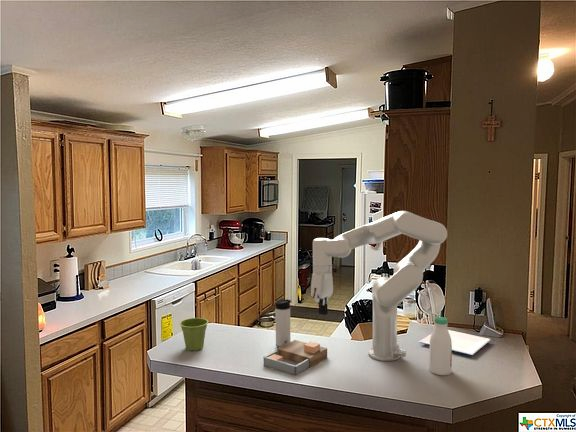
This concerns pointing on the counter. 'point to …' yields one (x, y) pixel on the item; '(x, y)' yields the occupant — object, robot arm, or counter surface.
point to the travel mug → (282, 322)
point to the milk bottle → (440, 348)
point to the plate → (463, 342)
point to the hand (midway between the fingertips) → (323, 313)
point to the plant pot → (194, 332)
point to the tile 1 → (276, 357)
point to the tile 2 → (312, 347)
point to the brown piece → (301, 353)
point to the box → (286, 365)
